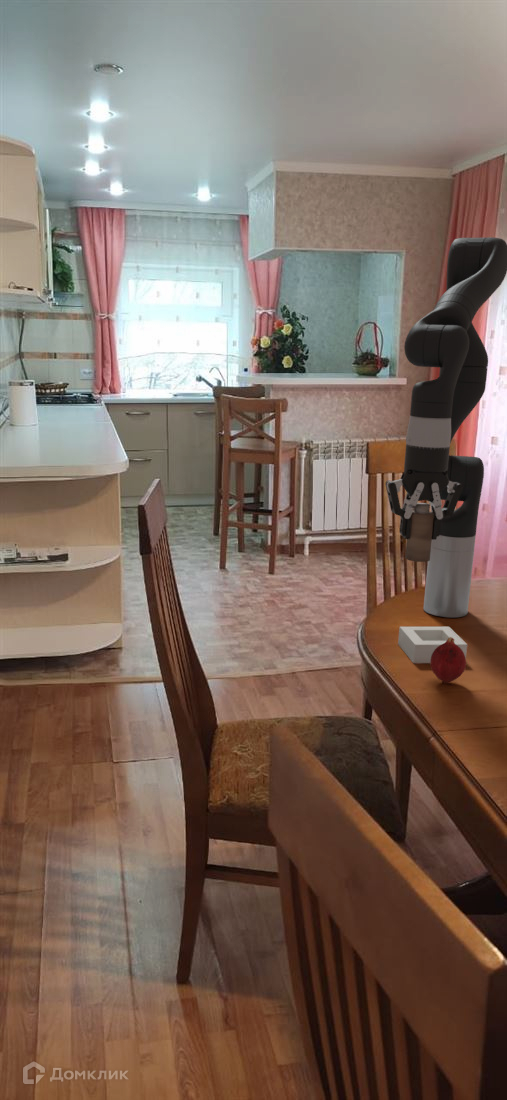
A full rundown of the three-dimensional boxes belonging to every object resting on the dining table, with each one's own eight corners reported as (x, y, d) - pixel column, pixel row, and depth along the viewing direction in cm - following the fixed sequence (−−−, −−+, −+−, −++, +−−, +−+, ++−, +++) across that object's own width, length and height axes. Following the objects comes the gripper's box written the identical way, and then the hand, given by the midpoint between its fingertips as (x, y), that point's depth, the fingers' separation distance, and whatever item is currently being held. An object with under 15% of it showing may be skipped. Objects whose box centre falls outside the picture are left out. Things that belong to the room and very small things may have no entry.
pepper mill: (408, 554, 154) (412, 501, 152) (431, 557, 153) (437, 503, 150) (402, 559, 150) (407, 504, 148) (427, 563, 149) (432, 507, 146)
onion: (464, 691, 137) (469, 645, 136) (428, 687, 139) (432, 642, 137) (463, 678, 143) (467, 634, 141) (428, 674, 144) (432, 630, 142)
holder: (398, 644, 158) (399, 626, 157) (447, 644, 160) (448, 626, 159) (413, 663, 149) (415, 644, 148) (465, 662, 150) (467, 644, 149)
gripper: (394, 444, 142) (386, 543, 146) (475, 446, 144) (465, 543, 148) (382, 439, 149) (375, 533, 153) (459, 441, 151) (450, 534, 155)
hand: (419, 537), depth 151 cm, fingers closed on pepper mill, 4 cm apart
